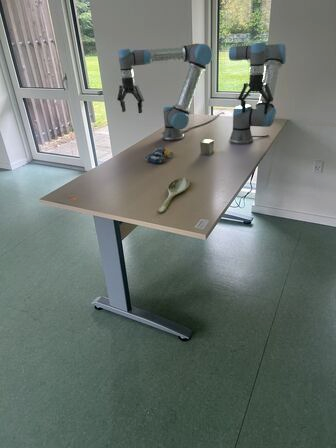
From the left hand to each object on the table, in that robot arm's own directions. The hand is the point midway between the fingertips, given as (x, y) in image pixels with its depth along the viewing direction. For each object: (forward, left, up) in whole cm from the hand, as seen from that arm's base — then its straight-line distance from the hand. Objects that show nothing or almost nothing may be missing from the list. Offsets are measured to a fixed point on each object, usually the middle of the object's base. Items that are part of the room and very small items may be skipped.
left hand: (132, 112), depth 218 cm
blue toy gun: (-5, +26, -26) cm, 37 cm away
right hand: (-53, +57, -1) cm, 78 cm away
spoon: (+15, +77, -26) cm, 83 cm away
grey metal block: (-33, +38, -26) cm, 56 cm away
